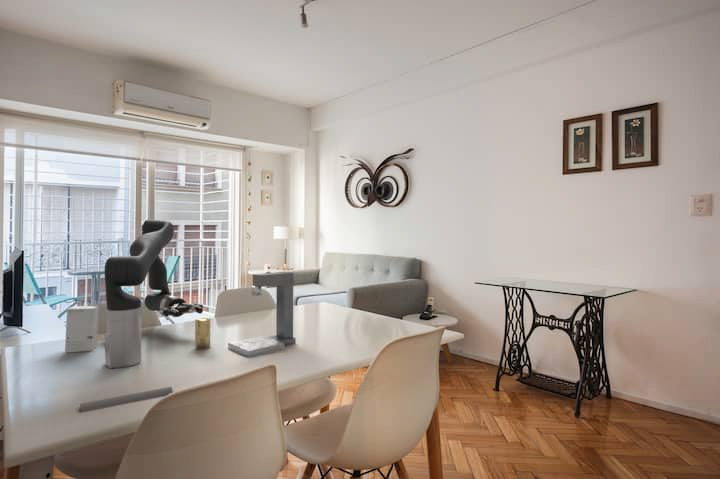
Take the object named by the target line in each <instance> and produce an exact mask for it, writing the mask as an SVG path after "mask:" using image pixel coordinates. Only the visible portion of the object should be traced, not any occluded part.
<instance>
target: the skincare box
mask: <svg viewBox="0 0 720 479" xmlns="http://www.w3.org/2000/svg"><path fill="white" fill-rule="evenodd" d="M65 324H66V325H65V327H66V328H65V345H64V346H65V348H64V349H65V350H64V353H78V352H80V353H81V352H92V351H93V350H95V349H96V348H97V347H98V329H99V327H98V326H99V306H98V305H87V306H86V305H85V306H84V305H79V306H78V305H75V306H71V307H68V308H66V323H65Z"/></svg>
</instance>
